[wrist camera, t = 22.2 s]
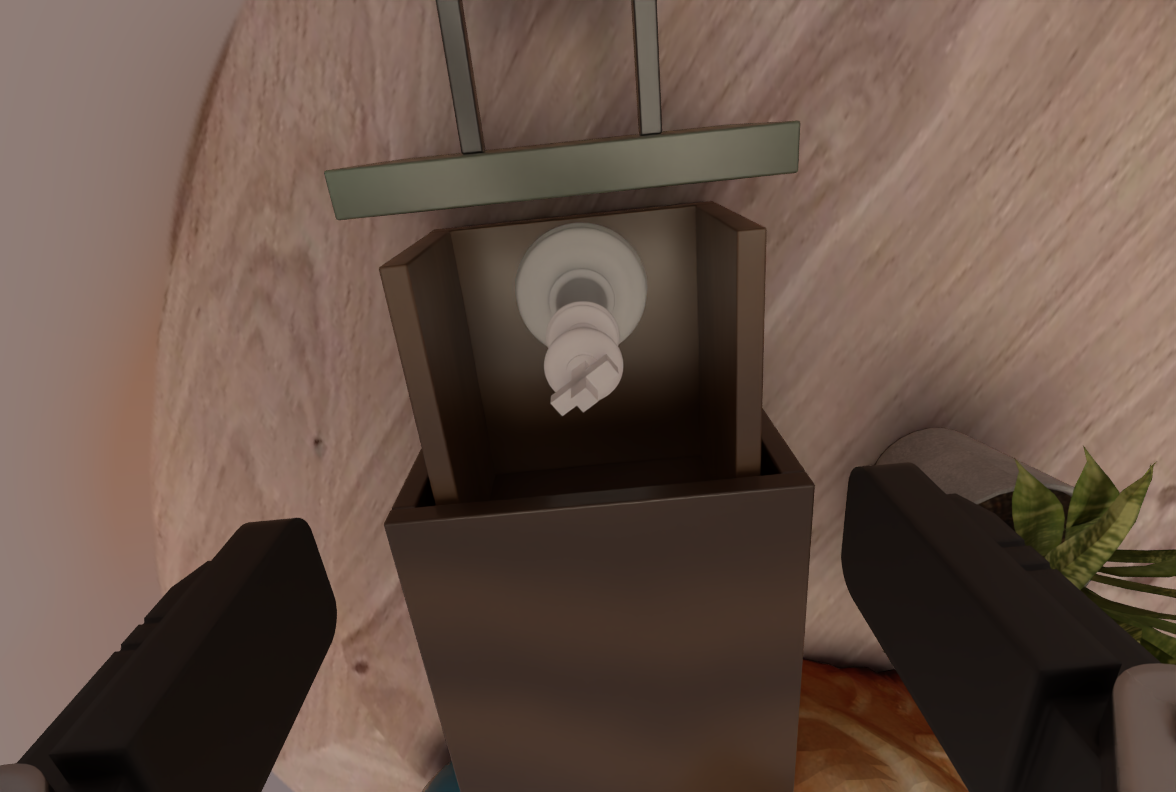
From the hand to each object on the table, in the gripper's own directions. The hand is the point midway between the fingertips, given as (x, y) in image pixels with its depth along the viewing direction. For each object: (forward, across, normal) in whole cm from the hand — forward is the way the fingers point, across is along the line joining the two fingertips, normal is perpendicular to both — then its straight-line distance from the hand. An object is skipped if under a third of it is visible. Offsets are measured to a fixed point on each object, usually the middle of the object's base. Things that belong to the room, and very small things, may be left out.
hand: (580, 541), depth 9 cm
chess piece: (+15, 0, 0) cm, 15 cm away
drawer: (+16, 0, -1) cm, 16 cm away
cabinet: (+17, 0, +12) cm, 21 cm away
